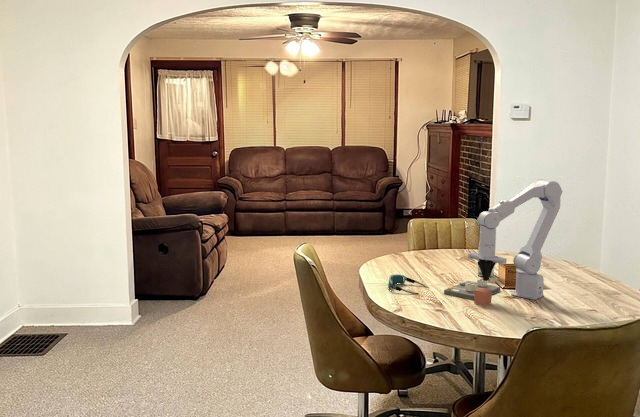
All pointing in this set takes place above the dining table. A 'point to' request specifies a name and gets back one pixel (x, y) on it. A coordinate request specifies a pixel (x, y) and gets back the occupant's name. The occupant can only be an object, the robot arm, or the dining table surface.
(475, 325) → the dining table surface
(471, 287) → the tagged breaker switch
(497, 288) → the breaker panel
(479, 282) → the breaker switch
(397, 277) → the sunglasses
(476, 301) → the block
